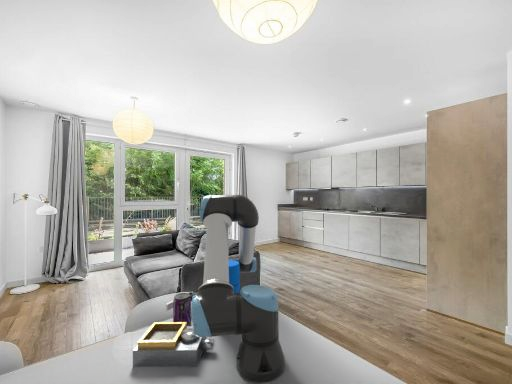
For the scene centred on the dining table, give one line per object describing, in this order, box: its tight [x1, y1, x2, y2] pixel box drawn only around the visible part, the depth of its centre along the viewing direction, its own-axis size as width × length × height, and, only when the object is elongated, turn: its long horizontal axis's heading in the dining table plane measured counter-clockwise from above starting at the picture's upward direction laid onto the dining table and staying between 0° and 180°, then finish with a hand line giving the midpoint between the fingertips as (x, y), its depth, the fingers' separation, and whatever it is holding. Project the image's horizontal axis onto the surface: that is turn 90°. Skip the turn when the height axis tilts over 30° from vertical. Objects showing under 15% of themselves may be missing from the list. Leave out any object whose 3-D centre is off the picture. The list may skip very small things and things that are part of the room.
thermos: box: [229, 260, 241, 293], centre depth 100 cm, size 11×11×25 cm
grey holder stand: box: [132, 321, 216, 368], centre depth 82 cm, size 24×14×7 cm, turn 89°
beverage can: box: [172, 292, 192, 326], centre depth 100 cm, size 7×7×12 cm
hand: (178, 310), depth 98 cm, fingers open, 13 cm apart
